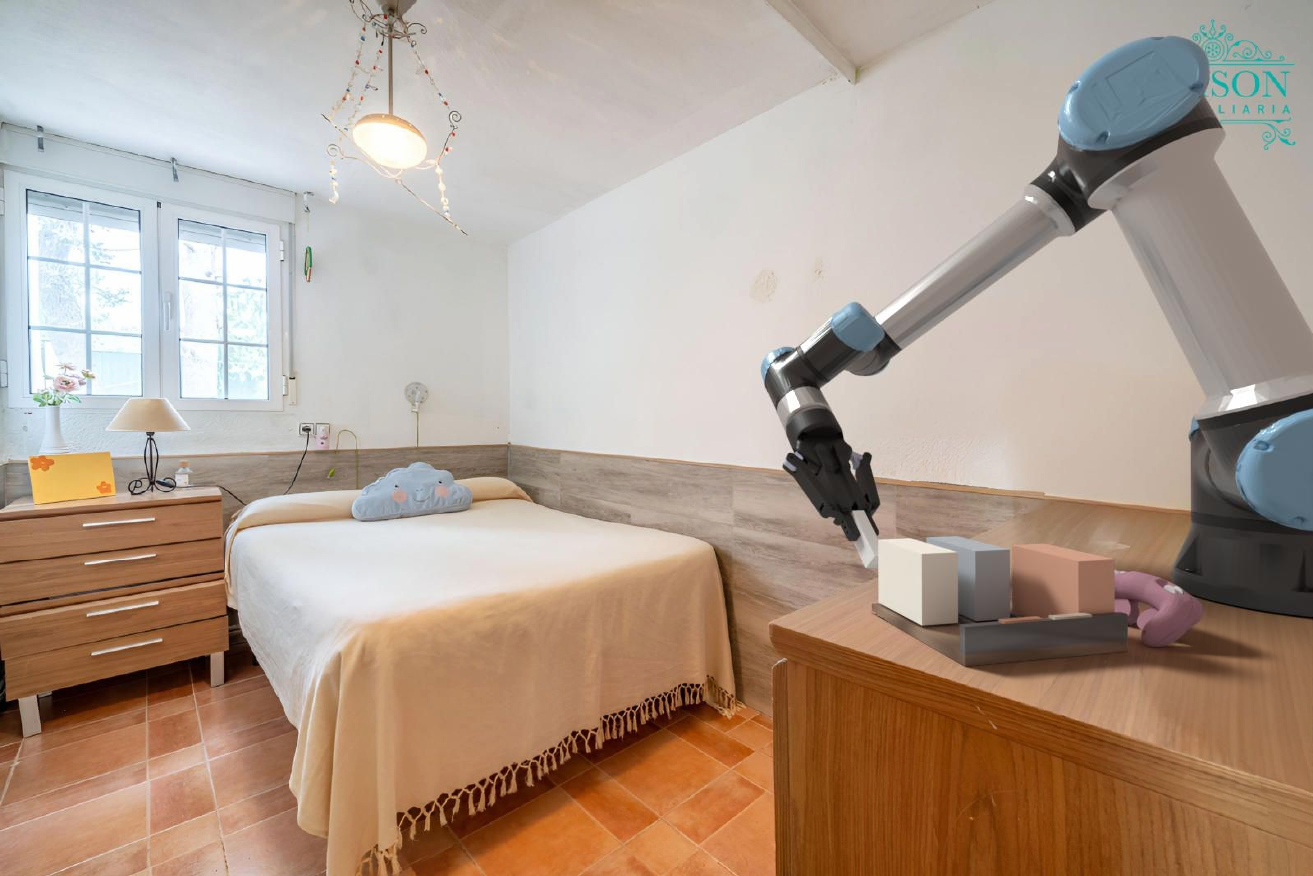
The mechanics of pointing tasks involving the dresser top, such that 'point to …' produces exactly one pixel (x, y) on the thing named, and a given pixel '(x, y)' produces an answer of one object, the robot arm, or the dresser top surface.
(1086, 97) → the robot arm
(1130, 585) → the video game controller
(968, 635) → the tray
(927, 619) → the cream white block
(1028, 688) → the dresser top surface
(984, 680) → the dresser top surface
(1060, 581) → the terracotta block
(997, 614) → the blue-grey block
